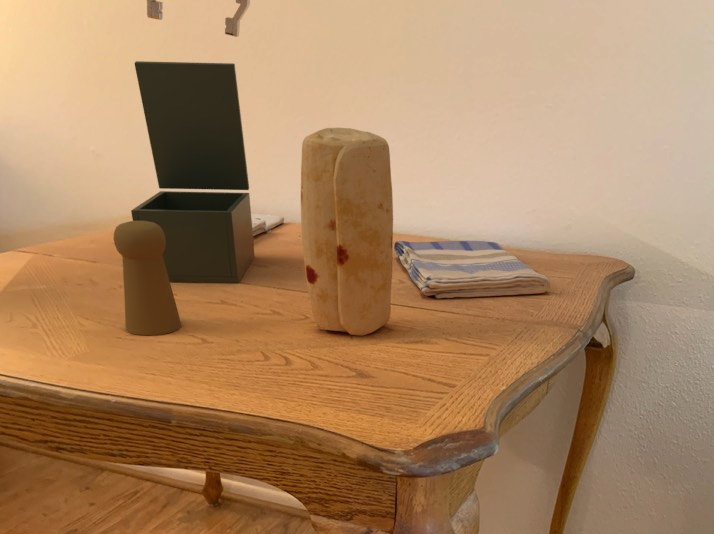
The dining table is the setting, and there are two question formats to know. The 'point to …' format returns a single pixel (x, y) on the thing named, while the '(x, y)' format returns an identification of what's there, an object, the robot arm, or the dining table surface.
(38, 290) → the dining table surface
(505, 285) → the dish towel
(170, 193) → the bin
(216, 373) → the dining table surface
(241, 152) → the bin lid
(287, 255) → the dining table surface
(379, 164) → the food model
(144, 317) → the cork
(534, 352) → the dining table surface
